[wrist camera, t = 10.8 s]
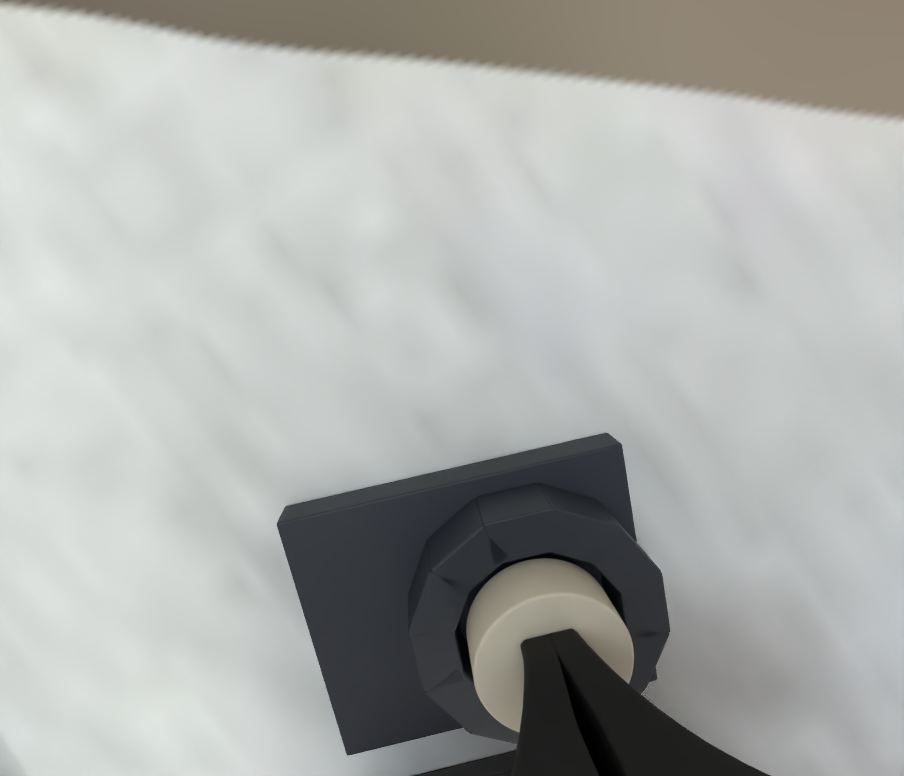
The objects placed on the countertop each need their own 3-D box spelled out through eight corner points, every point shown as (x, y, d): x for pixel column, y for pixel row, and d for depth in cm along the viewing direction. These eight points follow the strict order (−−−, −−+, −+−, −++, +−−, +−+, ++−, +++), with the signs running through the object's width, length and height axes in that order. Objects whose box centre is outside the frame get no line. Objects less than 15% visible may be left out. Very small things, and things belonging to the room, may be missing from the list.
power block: (607, 431, 17) (649, 464, 14) (642, 655, 19) (686, 726, 16) (284, 506, 17) (258, 555, 14) (350, 726, 18) (339, 812, 15)
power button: (598, 541, 15) (623, 576, 13) (619, 668, 16) (645, 716, 14) (452, 576, 15) (457, 616, 13) (481, 702, 16) (490, 754, 14)
